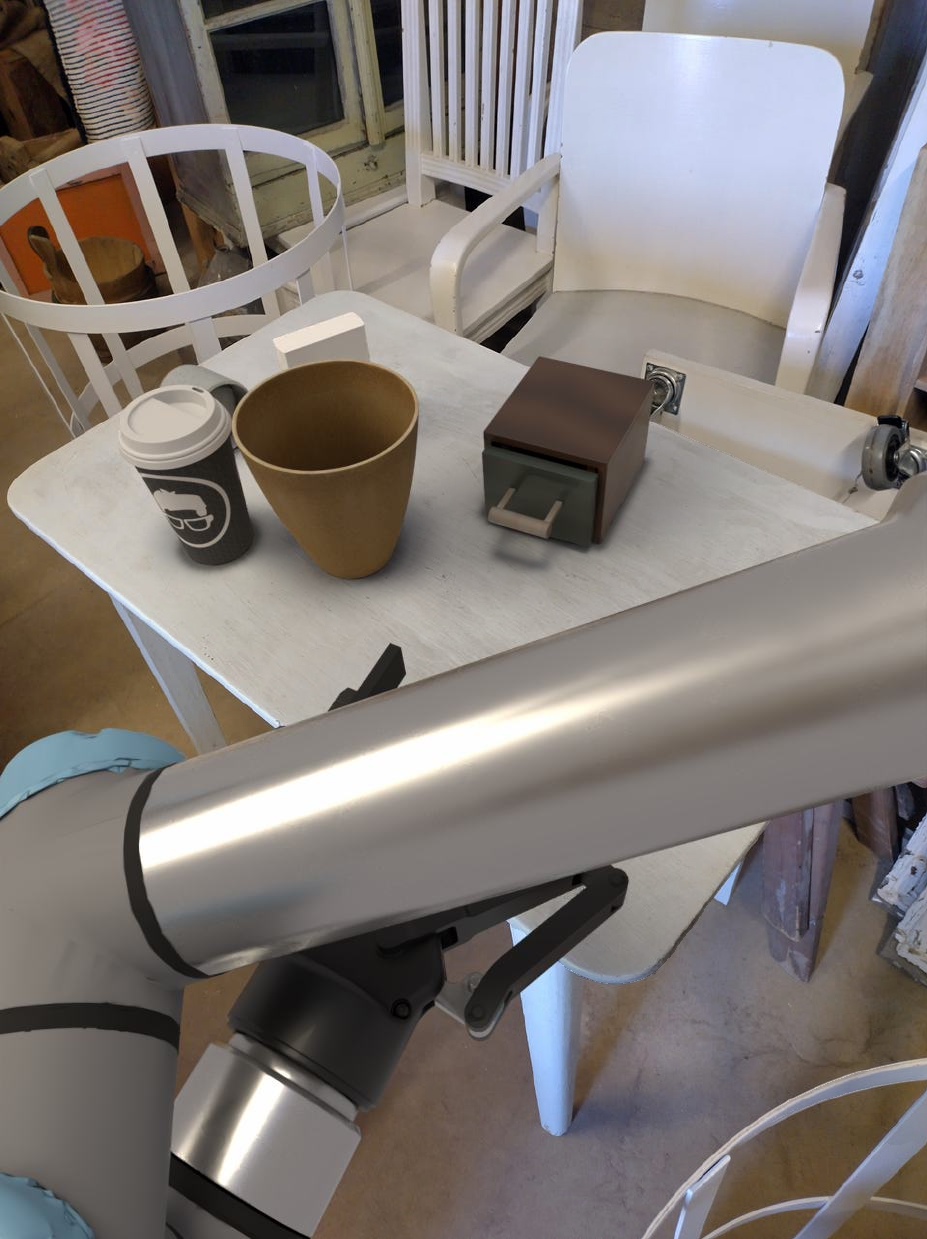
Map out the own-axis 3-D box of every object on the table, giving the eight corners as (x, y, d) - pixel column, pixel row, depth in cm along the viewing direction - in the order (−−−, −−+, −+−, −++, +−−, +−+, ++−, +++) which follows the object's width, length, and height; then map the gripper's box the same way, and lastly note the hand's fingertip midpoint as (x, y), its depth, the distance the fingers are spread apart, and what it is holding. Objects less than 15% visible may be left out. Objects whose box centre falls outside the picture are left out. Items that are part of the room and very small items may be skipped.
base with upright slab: (319, 469, 85) (293, 369, 76) (286, 425, 90) (259, 326, 81) (395, 438, 87) (380, 337, 78) (360, 397, 93) (341, 298, 83)
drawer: (571, 579, 72) (575, 514, 66) (465, 546, 75) (460, 481, 69) (629, 470, 80) (638, 404, 74) (532, 445, 84) (533, 380, 78)
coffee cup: (286, 547, 78) (243, 417, 66) (193, 592, 75) (131, 465, 63) (244, 494, 83) (198, 365, 72) (156, 534, 80) (93, 407, 69)
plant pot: (304, 633, 71) (257, 495, 59) (261, 527, 80) (213, 388, 68) (461, 576, 74) (447, 434, 62) (403, 480, 83) (381, 339, 71)
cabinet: (600, 544, 76) (607, 463, 68) (487, 511, 79) (482, 431, 72) (643, 462, 82) (655, 381, 75) (537, 435, 86) (538, 355, 79)
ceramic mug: (217, 403, 93) (195, 344, 87) (264, 429, 90) (244, 369, 84) (142, 453, 89) (113, 394, 83) (188, 482, 85) (161, 422, 79)
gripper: (108, 970, 42) (330, 664, 53) (562, 1242, 34) (706, 812, 45) (40, 918, 36) (306, 588, 48) (570, 1232, 28) (733, 742, 39)
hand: (502, 697), depth 46 cm, fingers open, 13 cm apart
